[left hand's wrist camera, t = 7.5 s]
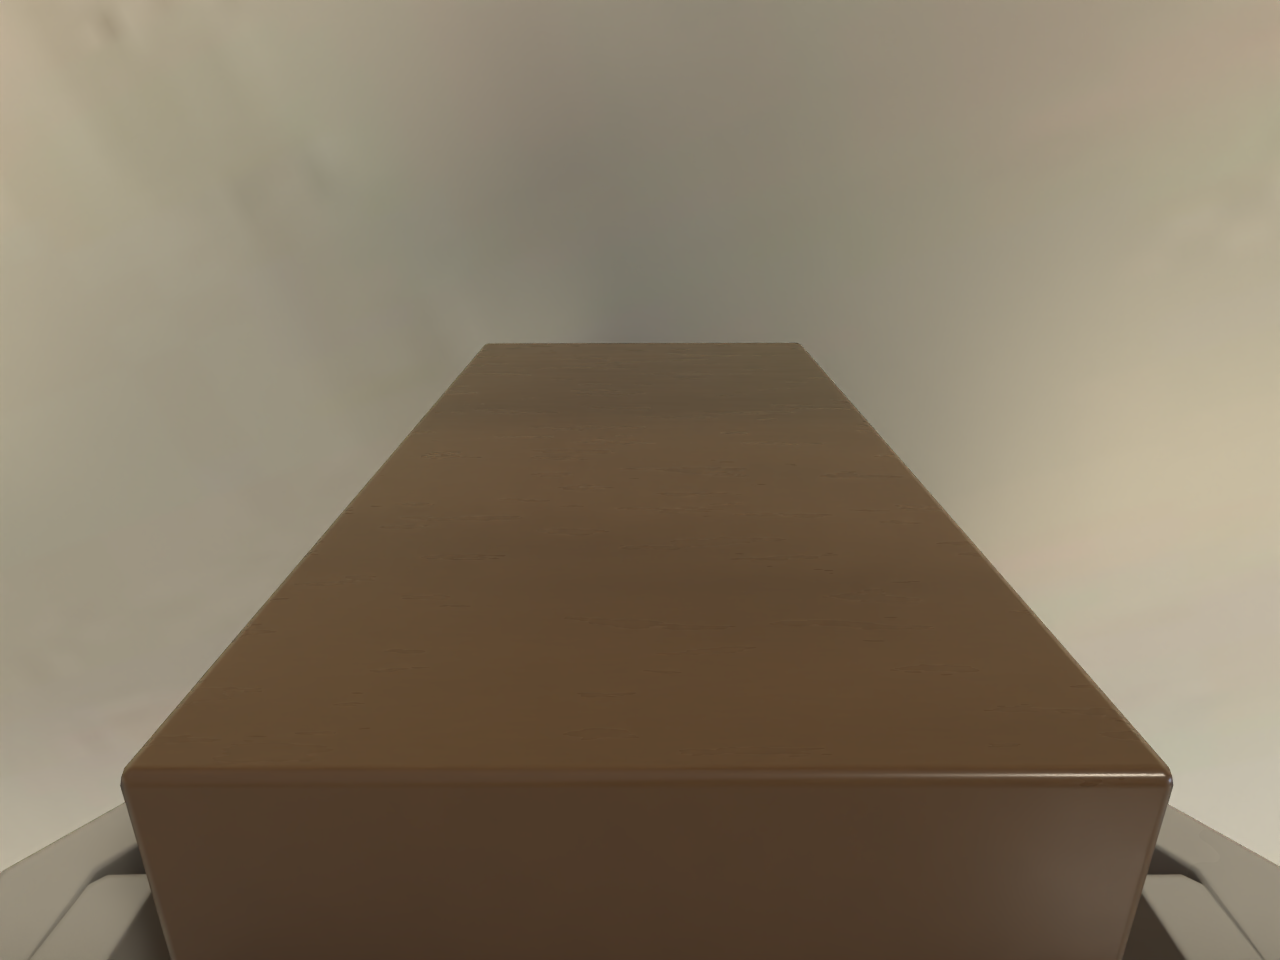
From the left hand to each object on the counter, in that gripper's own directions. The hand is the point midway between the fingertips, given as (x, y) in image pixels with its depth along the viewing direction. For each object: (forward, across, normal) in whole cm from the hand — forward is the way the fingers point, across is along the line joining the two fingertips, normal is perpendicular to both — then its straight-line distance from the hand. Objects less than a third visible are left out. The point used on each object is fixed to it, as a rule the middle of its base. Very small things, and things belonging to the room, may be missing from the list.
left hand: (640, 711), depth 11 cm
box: (+6, 0, +7) cm, 9 cm away
